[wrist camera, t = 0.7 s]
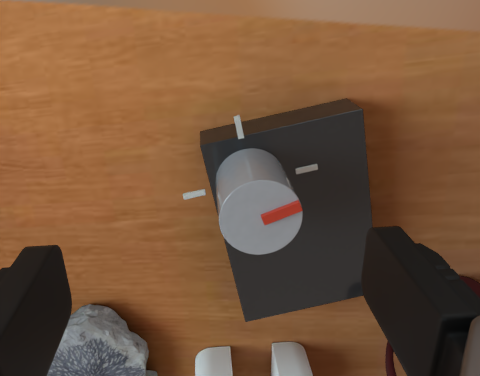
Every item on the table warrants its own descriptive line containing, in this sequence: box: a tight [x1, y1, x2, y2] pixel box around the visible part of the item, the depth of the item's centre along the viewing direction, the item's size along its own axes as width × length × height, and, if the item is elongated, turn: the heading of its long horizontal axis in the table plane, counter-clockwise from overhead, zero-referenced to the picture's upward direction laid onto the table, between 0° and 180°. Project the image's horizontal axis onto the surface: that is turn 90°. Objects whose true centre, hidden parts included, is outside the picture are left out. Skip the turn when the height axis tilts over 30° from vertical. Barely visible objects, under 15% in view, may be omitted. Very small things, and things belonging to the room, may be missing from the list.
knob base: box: [183, 98, 373, 322], centre depth 29 cm, size 15×12×3 cm
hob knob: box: [215, 148, 303, 255], centre depth 24 cm, size 4×4×5 cm
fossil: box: [47, 304, 158, 376], centre depth 34 cm, size 11×4×10 cm
